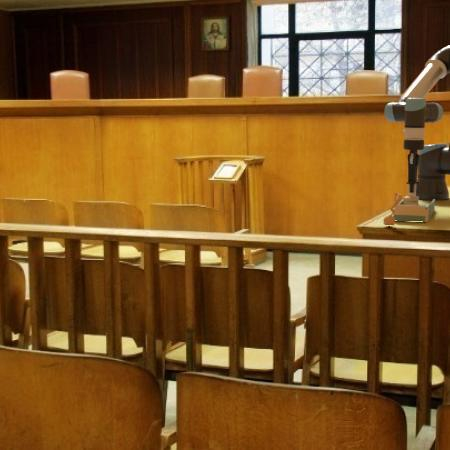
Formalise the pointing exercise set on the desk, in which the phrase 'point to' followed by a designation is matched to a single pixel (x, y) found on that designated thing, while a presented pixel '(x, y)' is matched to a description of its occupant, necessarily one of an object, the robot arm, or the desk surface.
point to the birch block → (411, 200)
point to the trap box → (414, 212)
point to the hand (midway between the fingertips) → (411, 200)
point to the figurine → (390, 219)
